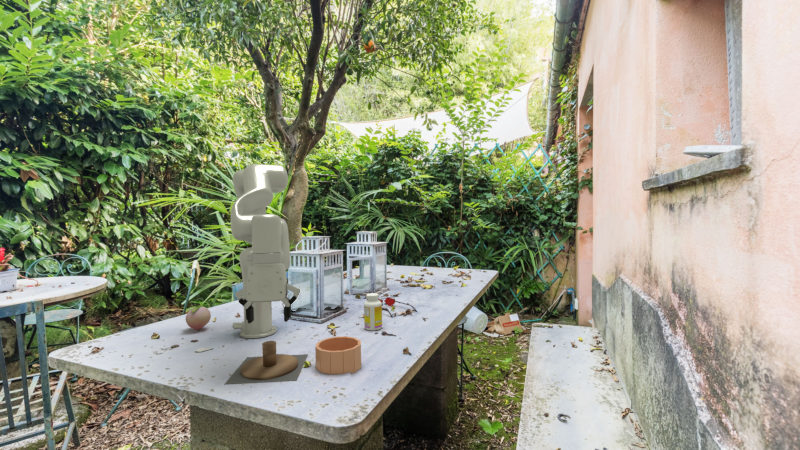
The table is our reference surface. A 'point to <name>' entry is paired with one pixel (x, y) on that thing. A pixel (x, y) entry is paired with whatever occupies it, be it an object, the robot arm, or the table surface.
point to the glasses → (391, 301)
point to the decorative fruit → (198, 317)
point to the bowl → (338, 355)
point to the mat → (293, 376)
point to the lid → (269, 364)
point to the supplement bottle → (372, 312)
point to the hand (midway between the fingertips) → (268, 321)
